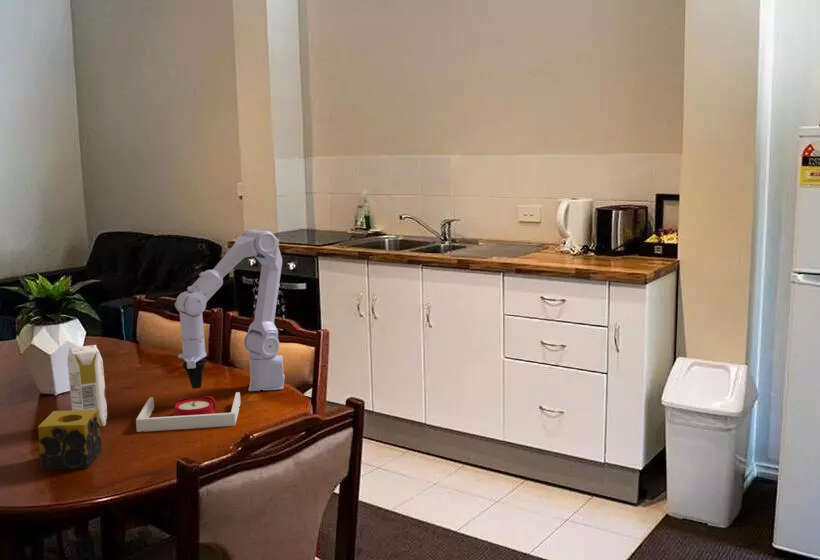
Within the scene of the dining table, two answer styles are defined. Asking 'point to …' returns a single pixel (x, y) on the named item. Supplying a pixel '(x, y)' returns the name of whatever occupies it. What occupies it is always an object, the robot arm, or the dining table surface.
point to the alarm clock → (195, 406)
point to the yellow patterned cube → (69, 440)
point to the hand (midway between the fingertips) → (196, 387)
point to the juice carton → (87, 381)
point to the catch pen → (185, 419)
